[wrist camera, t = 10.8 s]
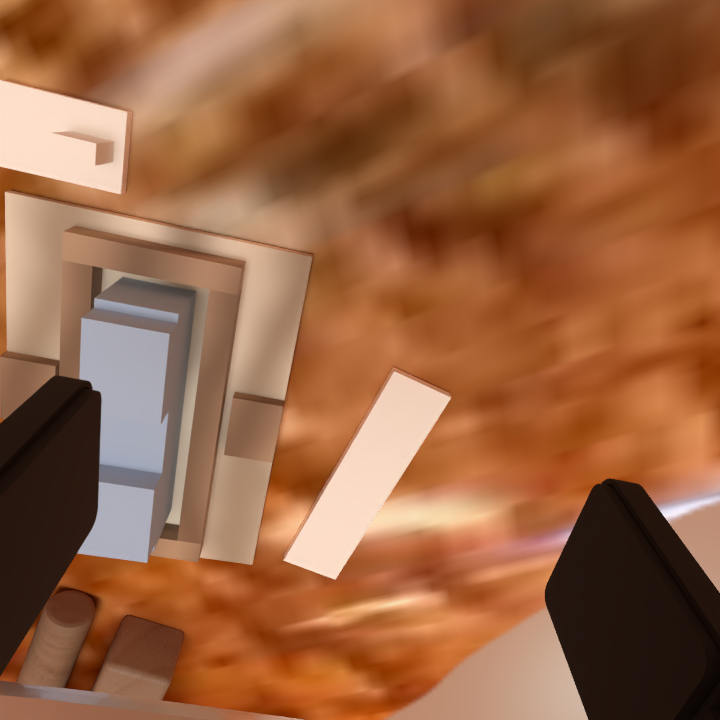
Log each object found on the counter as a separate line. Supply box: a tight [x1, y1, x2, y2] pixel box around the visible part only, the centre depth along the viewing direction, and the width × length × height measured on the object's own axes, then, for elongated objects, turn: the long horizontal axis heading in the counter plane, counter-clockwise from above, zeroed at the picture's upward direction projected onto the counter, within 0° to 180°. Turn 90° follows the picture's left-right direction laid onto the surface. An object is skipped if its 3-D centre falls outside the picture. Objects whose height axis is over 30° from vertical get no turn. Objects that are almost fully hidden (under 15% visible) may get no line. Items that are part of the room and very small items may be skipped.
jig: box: [0, 191, 313, 565], centre depth 34 cm, size 16×22×2 cm
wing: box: [284, 367, 451, 579], centre depth 38 cm, size 4×16×1 cm, turn 153°
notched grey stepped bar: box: [77, 277, 196, 563], centre depth 32 cm, size 16×4×6 cm, turn 168°
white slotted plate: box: [0, 80, 132, 194], centre depth 28 cm, size 6×4×4 cm, turn 76°
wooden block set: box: [16, 590, 184, 701], centre depth 41 cm, size 17×6×18 cm
